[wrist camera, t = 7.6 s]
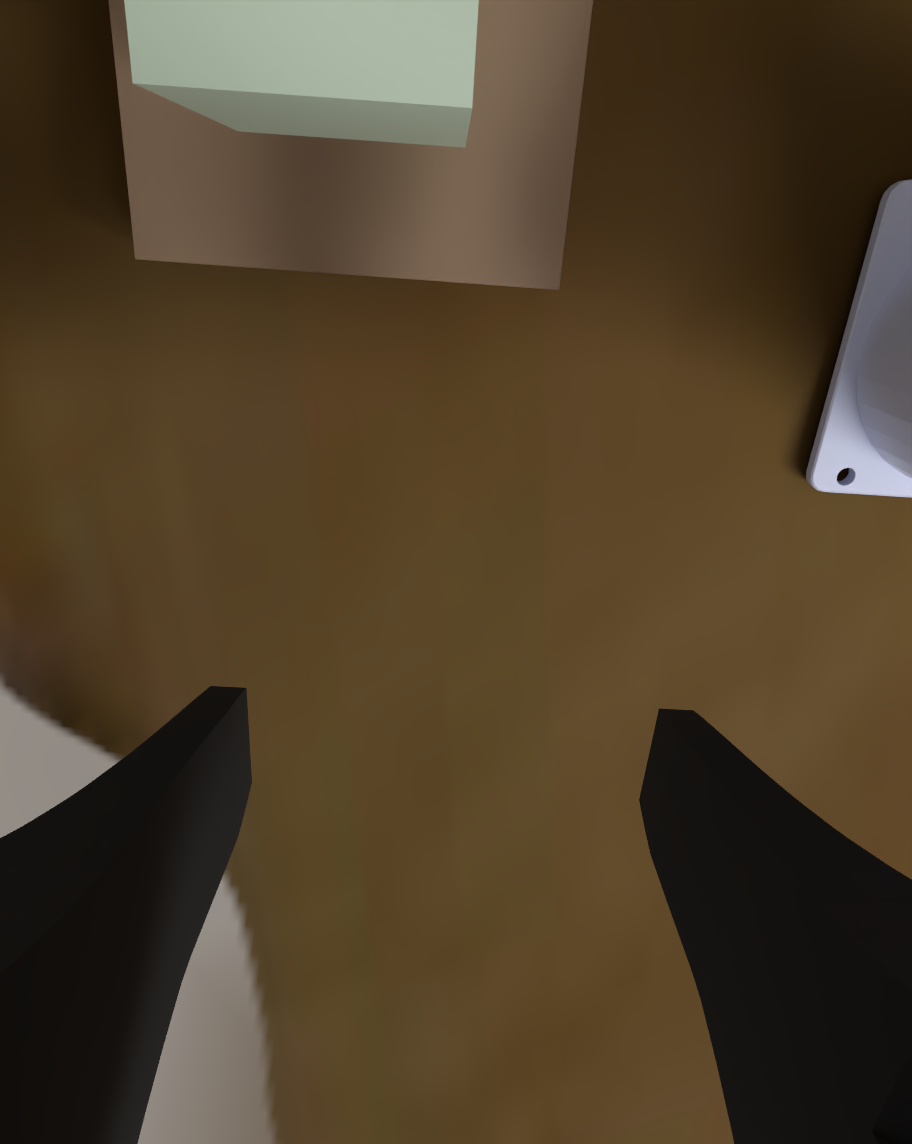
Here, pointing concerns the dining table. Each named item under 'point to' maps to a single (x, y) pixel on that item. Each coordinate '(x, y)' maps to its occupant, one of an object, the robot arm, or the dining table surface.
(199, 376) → the dining table surface
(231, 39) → the green block
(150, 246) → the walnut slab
